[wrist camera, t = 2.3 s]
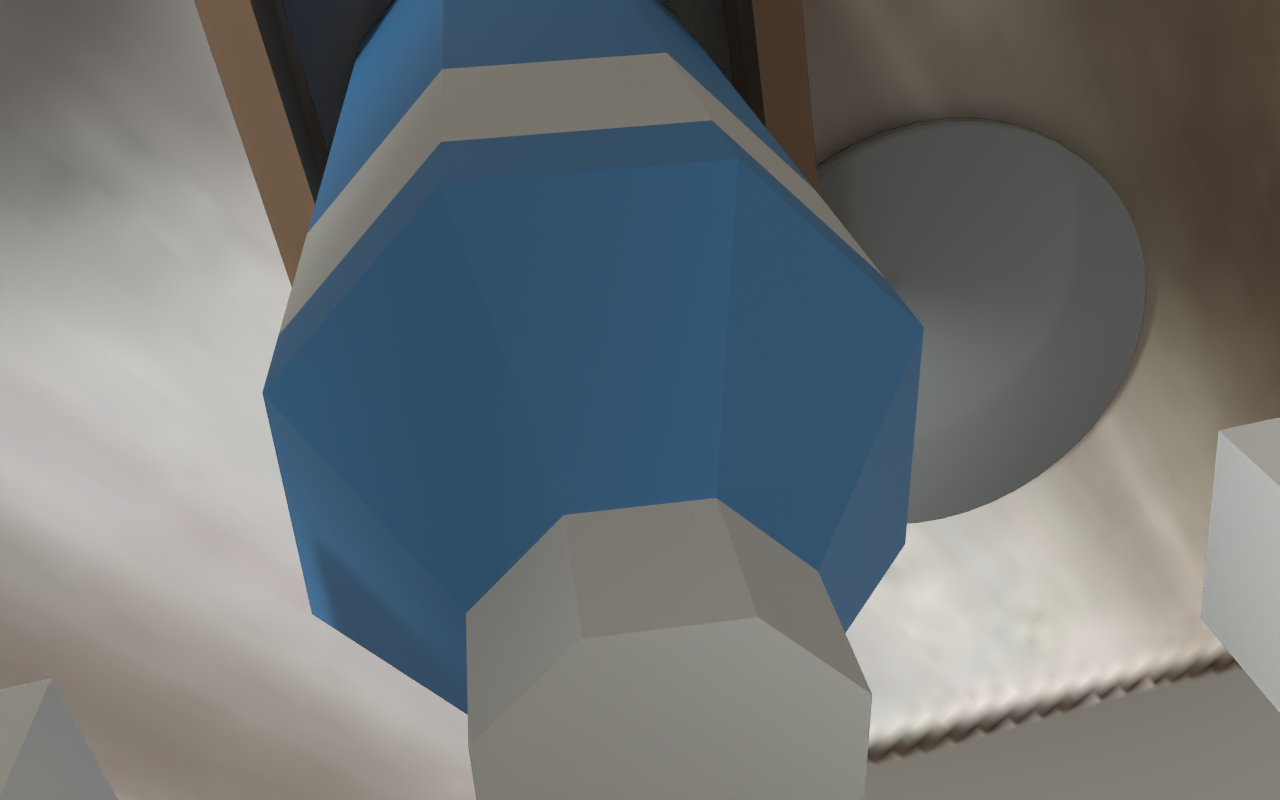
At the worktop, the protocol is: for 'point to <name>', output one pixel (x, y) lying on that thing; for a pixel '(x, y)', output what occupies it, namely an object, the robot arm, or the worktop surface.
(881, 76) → the worktop surface
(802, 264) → the water bottle
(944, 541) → the worktop surface
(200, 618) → the worktop surface
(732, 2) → the square wooden frame
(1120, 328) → the coaster
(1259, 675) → the robot arm
